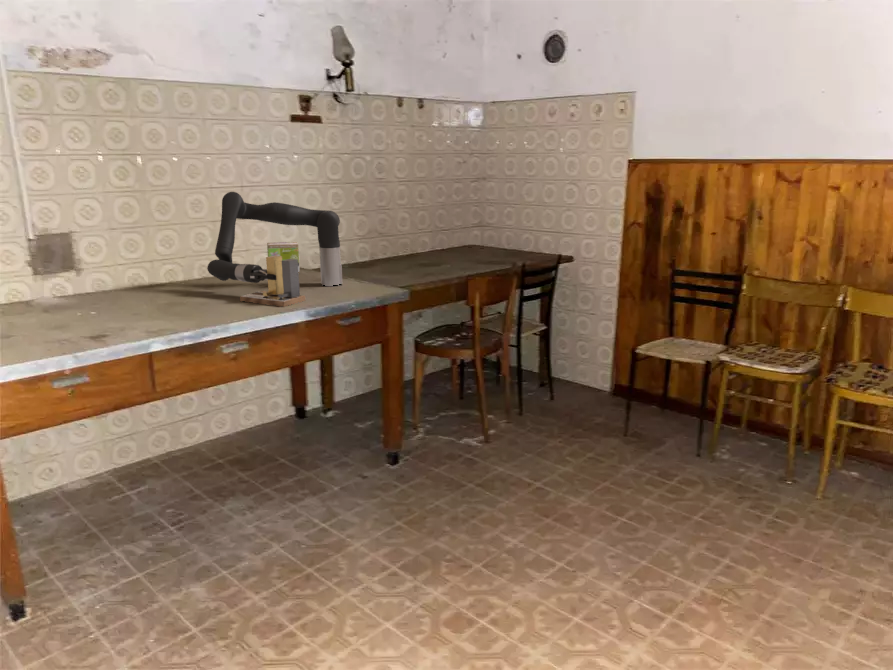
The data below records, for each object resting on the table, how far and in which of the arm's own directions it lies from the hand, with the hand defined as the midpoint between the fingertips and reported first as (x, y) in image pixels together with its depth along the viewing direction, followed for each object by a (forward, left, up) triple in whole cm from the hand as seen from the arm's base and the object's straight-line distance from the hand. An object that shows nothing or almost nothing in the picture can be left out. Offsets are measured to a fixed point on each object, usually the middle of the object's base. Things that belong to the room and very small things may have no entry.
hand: (280, 276), depth 274 cm
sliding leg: (+3, 0, -7) cm, 8 cm away
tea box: (-6, -70, -10) cm, 71 cm away
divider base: (+4, 0, -10) cm, 11 cm away
